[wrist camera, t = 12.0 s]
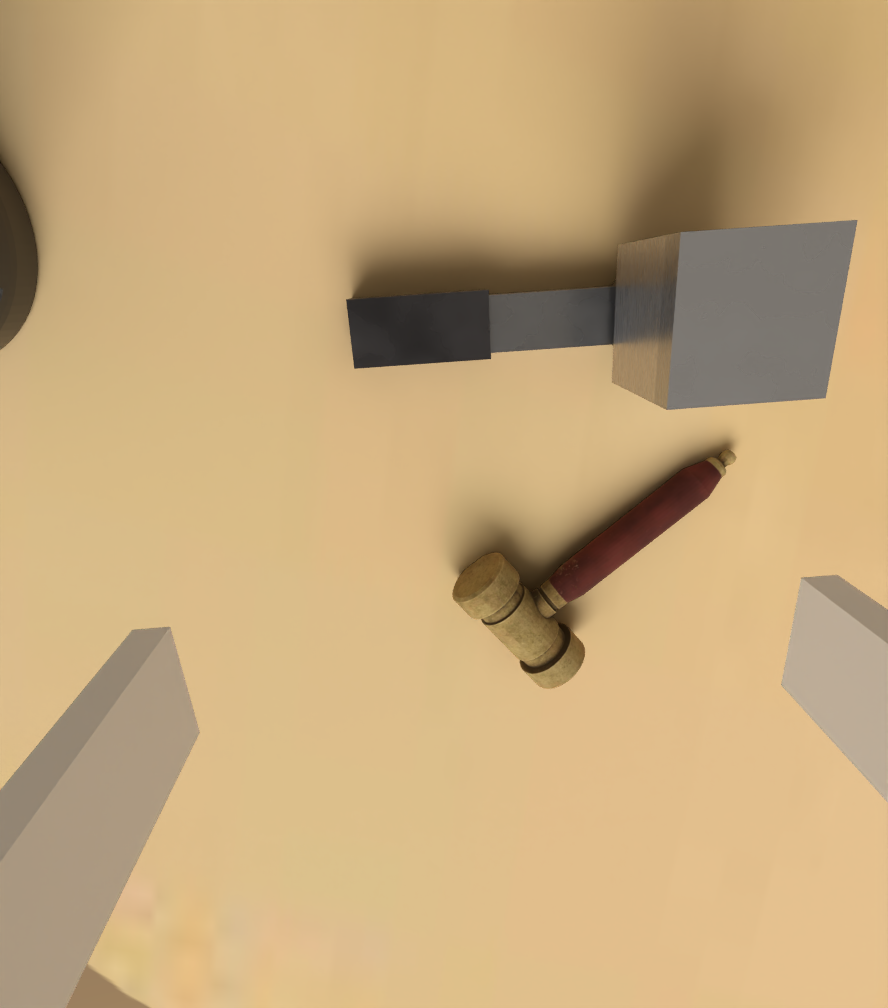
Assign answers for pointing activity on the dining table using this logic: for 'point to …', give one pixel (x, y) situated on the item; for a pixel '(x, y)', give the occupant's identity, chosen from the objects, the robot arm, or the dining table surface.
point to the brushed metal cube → (730, 314)
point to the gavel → (574, 577)
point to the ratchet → (476, 324)
